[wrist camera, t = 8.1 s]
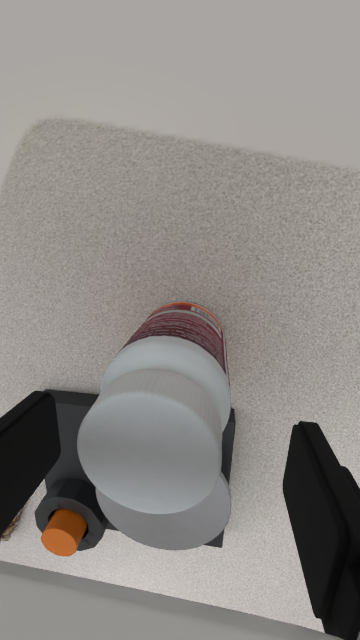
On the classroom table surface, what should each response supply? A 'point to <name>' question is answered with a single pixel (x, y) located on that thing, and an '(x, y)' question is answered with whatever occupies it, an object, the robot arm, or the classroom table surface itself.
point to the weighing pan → (173, 520)
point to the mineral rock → (10, 528)
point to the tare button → (64, 532)
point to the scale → (74, 485)
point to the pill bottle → (161, 414)
